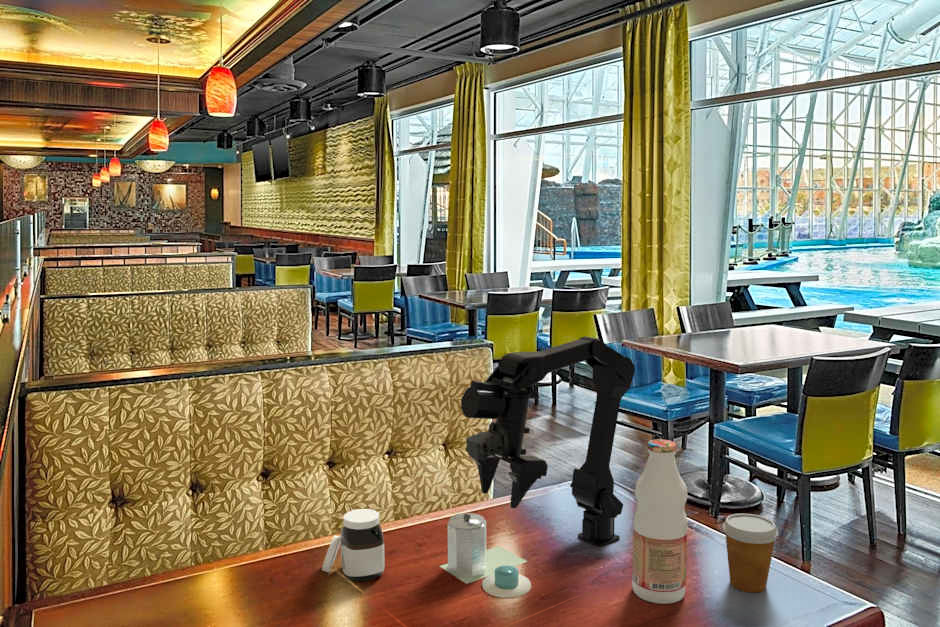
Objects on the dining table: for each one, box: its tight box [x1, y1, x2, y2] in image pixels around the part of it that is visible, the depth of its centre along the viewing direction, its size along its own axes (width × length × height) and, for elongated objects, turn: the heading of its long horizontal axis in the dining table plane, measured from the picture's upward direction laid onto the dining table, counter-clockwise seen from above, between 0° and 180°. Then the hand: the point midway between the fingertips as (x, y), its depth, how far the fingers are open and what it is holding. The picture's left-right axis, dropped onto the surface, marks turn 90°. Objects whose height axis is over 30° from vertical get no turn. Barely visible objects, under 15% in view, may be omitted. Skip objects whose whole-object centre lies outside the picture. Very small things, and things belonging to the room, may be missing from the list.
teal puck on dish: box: [481, 565, 532, 599], centre depth 139 cm, size 9×9×3 cm
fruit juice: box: [631, 438, 688, 605], centre depth 135 cm, size 9×9×28 cm
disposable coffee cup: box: [722, 513, 779, 593], centre depth 139 cm, size 10×10×12 cm
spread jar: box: [321, 508, 386, 582], centre depth 145 cm, size 12×11×12 cm
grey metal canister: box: [446, 512, 487, 579], centre depth 145 cm, size 7×7×11 cm
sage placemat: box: [439, 545, 529, 585], centre depth 148 cm, size 15×9×1 cm, turn 127°
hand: (498, 500), depth 144 cm, fingers open, 9 cm apart
